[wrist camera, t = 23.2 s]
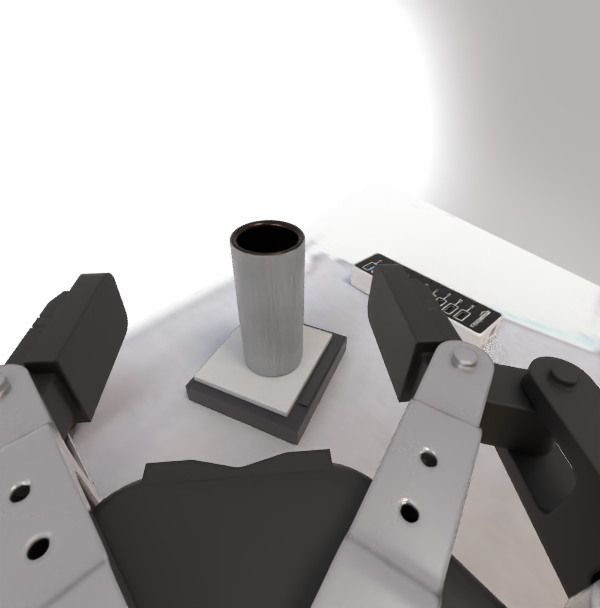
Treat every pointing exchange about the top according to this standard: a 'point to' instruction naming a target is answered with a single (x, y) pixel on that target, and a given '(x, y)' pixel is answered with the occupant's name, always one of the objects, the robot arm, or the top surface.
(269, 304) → the grey hollow cylinder
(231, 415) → the scale
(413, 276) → the multiport hub
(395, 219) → the top surface
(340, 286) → the top surface
